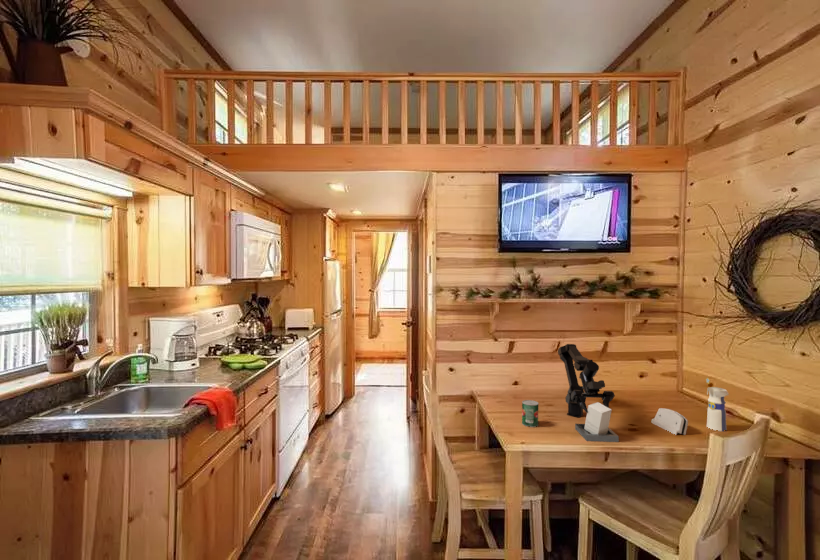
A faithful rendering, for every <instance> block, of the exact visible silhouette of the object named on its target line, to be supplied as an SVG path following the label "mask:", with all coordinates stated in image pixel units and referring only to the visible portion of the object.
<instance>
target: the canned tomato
mask: <svg viewBox="0 0 820 560" xmlns="http://www.w3.org/2000/svg"><path fill="white" fill-rule="evenodd" d="M539 404H540V403H539V402H538V401H535V400H530V399H525V400H522V401H521V424H522V425H523V426H524V425H525V426H524V427H527V426H530V427H529V428H536V426H537V427H538V426H539Z"/></svg>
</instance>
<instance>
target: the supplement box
mask: <svg viewBox="0 0 820 560" xmlns="http://www.w3.org/2000/svg"><path fill="white" fill-rule="evenodd" d="M587 410H588V412H587V413H586V417H585V421H584V422H585V423H584V424H585V428H584V429H585V430H587V431H588V432H590V433H591V434H607V432H608V428H609V427H610V421H611V414H612V408H610V407H609V408H608V407H606V406H604V405H603V403H602V402H601V403H600V402H598V401H597V402H593V403H591V404H589V405H587Z"/></svg>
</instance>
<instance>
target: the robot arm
mask: <svg viewBox="0 0 820 560" xmlns="http://www.w3.org/2000/svg"><path fill="white" fill-rule="evenodd" d="M557 354H558V355H559V359H560V360H561V361H562V362H563V363H564V369H565V373H566V376H567V382H568V384H569V385H568V386H569V388H568V390H567V394H566V396H565V402H566V404H567V413H566V415H567V416H570V417H575V418H580V417H582V416H584V412H585V413H586V414H587V412H588V406H587V405H586V400H587V398H596V399H599V398H600V399H601V400H602V405H604V406H606V407H608V408H610V407H609V406H610V402H612V401H613V399H614V398H615V396H616V395H615V392H614V391H612V390H604V391H603V392H602V393H600V391H601V390H602V389H603V388H605V387H606V383H605V381H604V380H602V379H601V380H598V381H595V380H594V379H595V376H596V375H597V373H598V371H599V369H600V365H599V364H598V363H597V362H595V361H593V359H589V358H587V357H586V356H585V357H584V355H583V354H581V352H580V350H579V349H578V347H577V345H576V344H574V343H567V344H565V345H562V346H560V347H559V348H558V349H557ZM576 371H578V372H580V373H579V377H577V373H576ZM578 378H579V380H581V384H582V385H580V384H579V381H578Z"/></svg>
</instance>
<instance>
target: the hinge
mask: <svg viewBox="0 0 820 560" xmlns="http://www.w3.org/2000/svg"><path fill="white" fill-rule="evenodd" d="M651 423H652V424H653V425H655V426H657V427H659V428H661V429H663V430H665V431H666V430H667V432H668V431H669V432H668V433H670V432H671V435H672V434H673V435H674V434H675V435H674V436H677V435H678V434H681V435H683V436H686V434H687V429H688V425H689V420H688V419H687V417H685V416H684V415H683V414H681V413H679V412H677V411H676V410H673V409H671V408H662V407H660V408H658V410H657V412H656V414H655V416H654V418H652V419H651Z"/></svg>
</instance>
